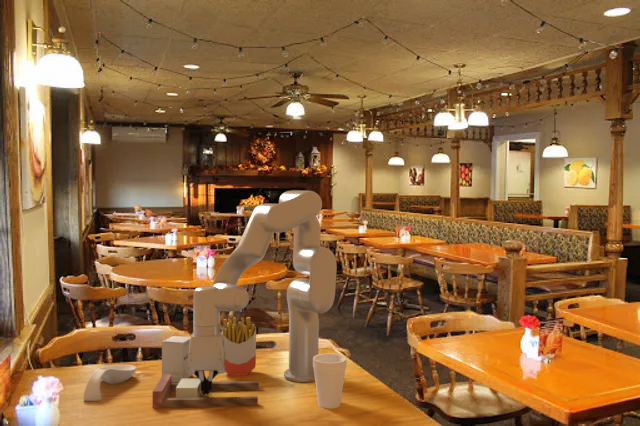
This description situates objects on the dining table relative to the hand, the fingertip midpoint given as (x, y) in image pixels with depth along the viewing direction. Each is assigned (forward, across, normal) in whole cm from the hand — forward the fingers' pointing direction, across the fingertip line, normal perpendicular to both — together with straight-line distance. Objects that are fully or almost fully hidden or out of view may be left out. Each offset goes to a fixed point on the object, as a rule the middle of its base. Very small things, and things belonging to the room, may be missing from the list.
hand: (206, 393), depth 158 cm
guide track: (+1, -1, 0) cm, 1 cm away
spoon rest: (+2, +30, -11) cm, 32 cm away
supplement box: (+1, +11, -17) cm, 20 cm away
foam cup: (+1, -35, +7) cm, 36 cm away
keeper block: (+1, +5, -1) cm, 5 cm away
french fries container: (+1, -8, -21) cm, 23 cm away
